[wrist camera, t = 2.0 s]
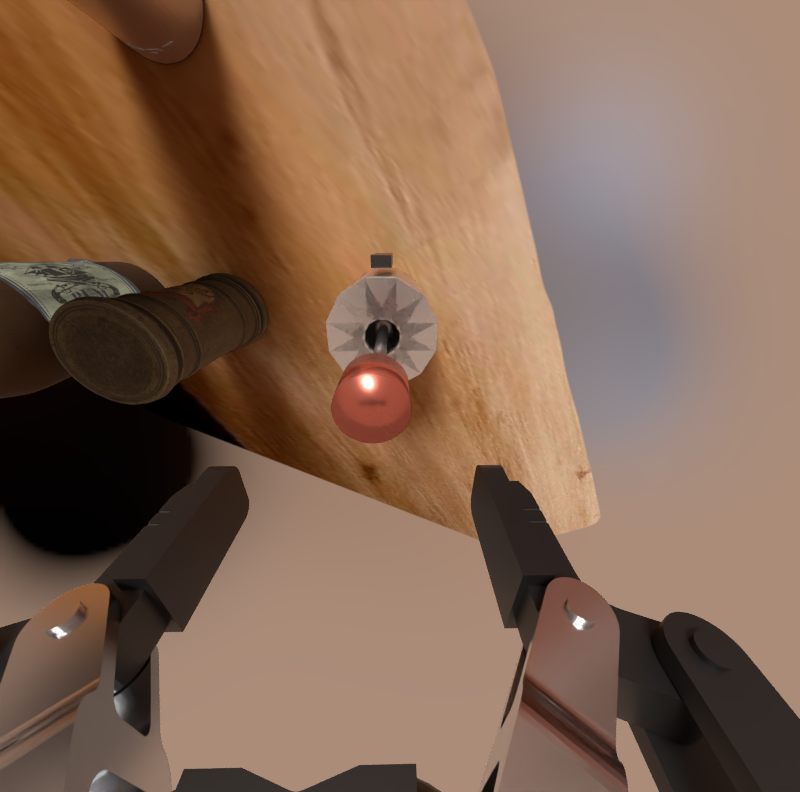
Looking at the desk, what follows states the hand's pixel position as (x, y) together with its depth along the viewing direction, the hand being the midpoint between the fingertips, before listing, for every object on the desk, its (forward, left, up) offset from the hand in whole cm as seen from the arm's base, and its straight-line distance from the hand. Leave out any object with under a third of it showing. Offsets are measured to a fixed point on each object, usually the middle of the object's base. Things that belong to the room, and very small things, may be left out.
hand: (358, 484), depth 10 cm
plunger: (0, 0, -22) cm, 22 cm away
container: (0, -20, -31) cm, 37 cm away
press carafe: (0, 0, -31) cm, 31 cm away
